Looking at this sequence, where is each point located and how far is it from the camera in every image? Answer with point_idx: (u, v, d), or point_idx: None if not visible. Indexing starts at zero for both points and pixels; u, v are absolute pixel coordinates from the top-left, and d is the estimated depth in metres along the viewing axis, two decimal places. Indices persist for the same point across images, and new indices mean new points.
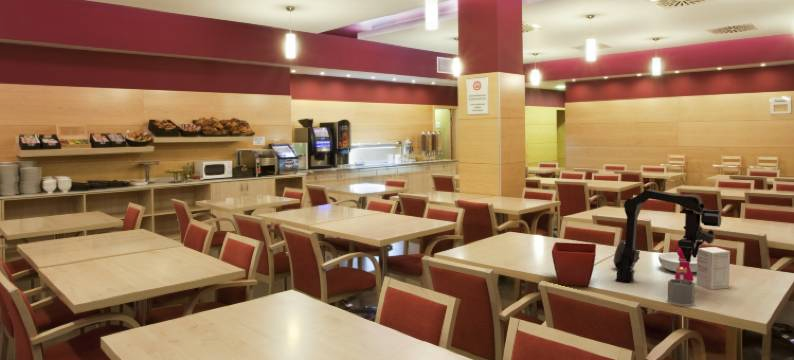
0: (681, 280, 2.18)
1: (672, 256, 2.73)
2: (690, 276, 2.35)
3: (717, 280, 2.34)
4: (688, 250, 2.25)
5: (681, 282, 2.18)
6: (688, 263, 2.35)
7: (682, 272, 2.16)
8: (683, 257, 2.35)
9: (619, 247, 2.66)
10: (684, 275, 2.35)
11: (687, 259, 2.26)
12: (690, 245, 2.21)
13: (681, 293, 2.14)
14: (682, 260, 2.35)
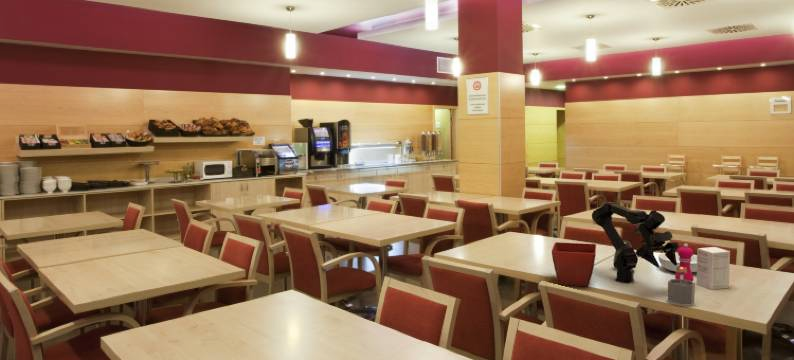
0: (681, 280, 2.18)
1: None
2: (690, 276, 2.35)
3: (717, 280, 2.34)
4: (650, 256, 2.26)
5: (681, 282, 2.18)
6: (688, 263, 2.35)
7: (682, 272, 2.16)
8: (684, 257, 2.35)
9: None
10: (684, 275, 2.35)
11: (656, 265, 2.24)
12: (642, 249, 2.26)
13: (681, 293, 2.14)
14: (682, 260, 2.35)
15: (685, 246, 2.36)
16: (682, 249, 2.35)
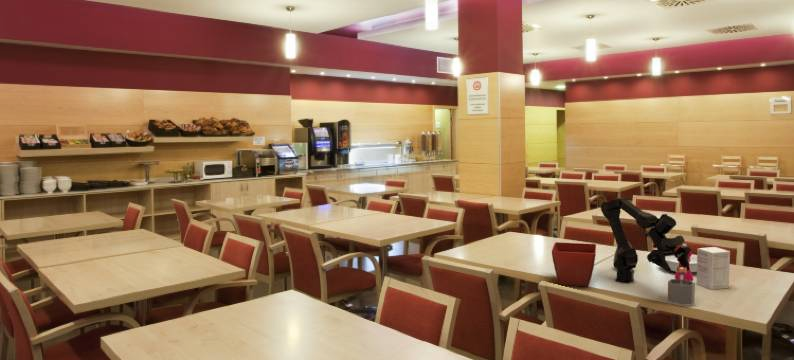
0: (681, 280, 2.18)
1: (672, 256, 2.73)
2: (690, 276, 2.35)
3: (717, 280, 2.34)
4: (662, 261, 2.20)
5: (681, 282, 2.18)
6: None
7: (682, 272, 2.16)
8: None
9: None
10: (684, 275, 2.35)
11: (668, 270, 2.18)
12: (653, 254, 2.20)
13: (681, 293, 2.14)
14: None
15: None
16: None
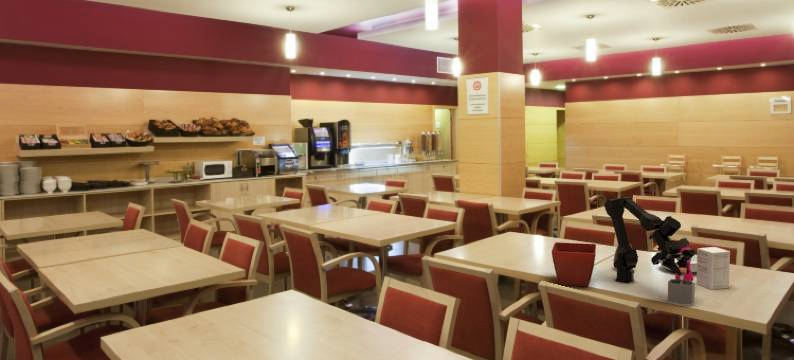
0: (681, 280, 2.18)
1: None
2: (690, 276, 2.35)
3: (717, 280, 2.34)
4: (671, 264, 2.19)
5: (681, 282, 2.18)
6: (689, 263, 2.35)
7: (682, 272, 2.16)
8: None
9: None
10: (685, 275, 2.35)
11: (677, 273, 2.17)
12: (657, 257, 2.17)
13: (681, 293, 2.14)
14: None
15: None
16: (682, 249, 2.36)
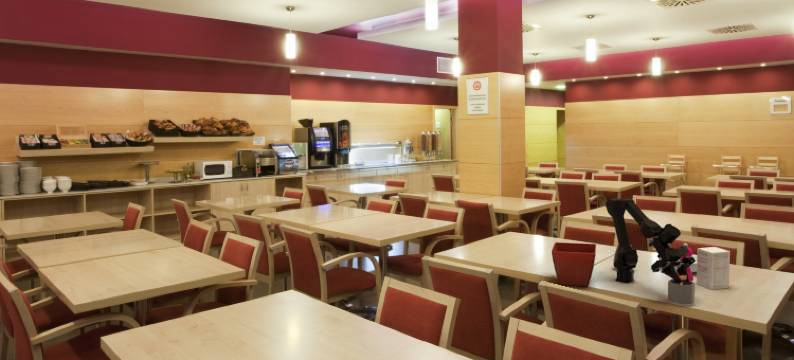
0: None
1: None
2: (690, 276, 2.35)
3: (717, 280, 2.34)
4: (671, 271, 2.19)
5: None
6: None
7: (682, 280, 2.16)
8: (684, 256, 2.35)
9: None
10: None
11: (677, 280, 2.17)
12: (657, 264, 2.18)
13: (681, 293, 2.14)
14: None
15: None
16: None
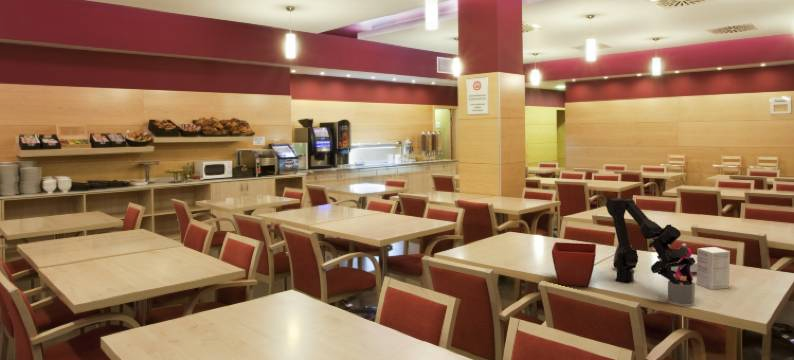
0: None
1: None
2: None
3: (717, 280, 2.34)
4: (668, 272, 2.18)
5: None
6: None
7: (682, 281, 2.16)
8: (683, 257, 2.35)
9: None
10: None
11: (674, 282, 2.17)
12: (657, 265, 2.18)
13: (681, 293, 2.14)
14: None
15: (683, 246, 2.36)
16: None
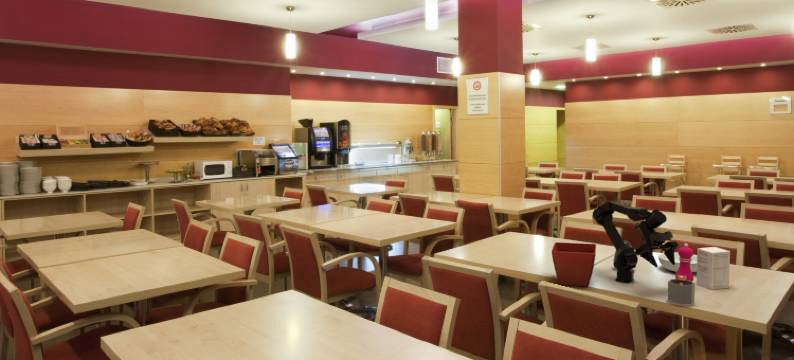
0: None
1: None
2: (691, 276, 2.35)
3: (717, 280, 2.34)
4: (649, 256, 2.27)
5: None
6: (689, 263, 2.35)
7: (682, 281, 2.16)
8: (684, 257, 2.35)
9: None
10: (685, 275, 2.35)
11: (654, 265, 2.26)
12: (641, 248, 2.26)
13: (681, 293, 2.14)
14: (683, 260, 2.35)
15: (685, 246, 2.36)
16: (683, 249, 2.35)
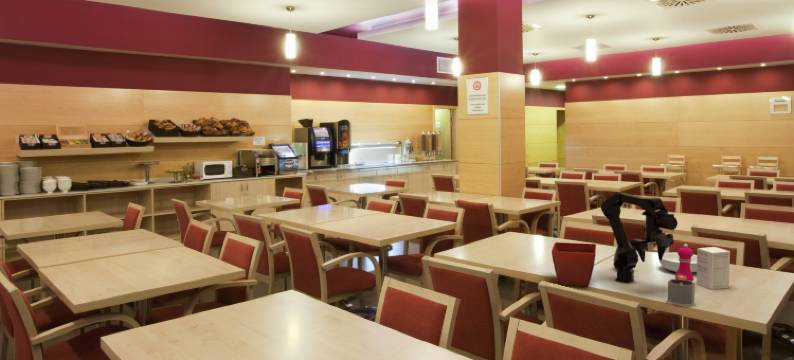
0: None
1: (672, 256, 2.73)
2: (691, 276, 2.35)
3: (717, 280, 2.34)
4: (641, 250, 2.33)
5: None
6: (689, 263, 2.35)
7: (682, 281, 2.16)
8: (684, 257, 2.35)
9: None
10: (685, 275, 2.35)
11: (642, 259, 2.34)
12: (638, 245, 2.30)
13: (681, 293, 2.14)
14: (683, 260, 2.35)
15: (685, 246, 2.35)
16: (682, 249, 2.35)
